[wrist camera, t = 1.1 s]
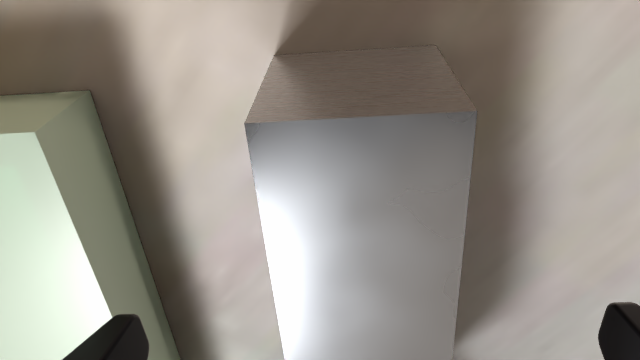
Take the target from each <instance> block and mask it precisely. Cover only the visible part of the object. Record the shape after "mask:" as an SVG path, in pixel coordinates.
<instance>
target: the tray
mask: <svg viewBox="0 0 640 360" xmlns="http://www.w3.org/2000/svg"><path fill="white" fill-rule="evenodd" d="M118 314H137V315H138V316H139V317H140V319H141V322H142V325H143V327H144V330H145V333H146V335H147V338H148V341H149V355H148V359H147V360H181V359H180V356H179V353H178V350H177V348H176V345H175V342H174V339H173V336H172V333H171V330H170V327H169V324H168V321H167V318H166V315H165V312H164V309H163V306H162V303H161V300H160V297H159V294H158V291H157V288H156V285H155V282H154V279H153V277H152V274H151V271H150V268H149V265H148V262H147V259H146V256H145V253H144V250H143V247H142V244H141V241H140V238H139V235H138V232H137V229H136V226H135V223H134V220H133V217H132V214H131V211H130V208H129V206H128V203H127V200H126V197H125V194H124V191H123V188H122V185H121V182H120V179H119V176H118V173H117V170H116V167H115V164H114V161H113V158H112V155H111V152H110V149H109V146H108V143H107V140H106V137H105V135H104V132H103V129H102V126H101V123H100V120H99V117H98V114H97V111H96V108H95V105H94V102H93V99H92V96H91V93H90V90H87V91H70V92H54V93H37V94H20V95H4V96H0V360H62V359H63V358H64V357H66V356H67V355H68V354H69V353H70V352H72V351H73V350H74V349H75V348H76V347H78V346H79V345H80V344H81V343H82V342H84V341H85V340H86V339H87V338H88V337H90V336H91V335H92V334H93V333H94V332H96V331H97V330H98V329H99V328H100V327H102V326H103V325H104V324H105V323H106V322H107V321H109V320H110V319H111V318H112V317H114V316H115V315H118Z"/></svg>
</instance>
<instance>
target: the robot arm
mask: <svg viewBox="0 0 640 360" xmlns="http://www.w3.org/2000/svg"><path fill="white" fill-rule="evenodd" d="M598 340H599V345H600V348H601V351H602V354H603V357H604V359H605V360H640V306H639V305H637V304H635V303H632V302H616V303H610V304H609V305H608V306H607V308H606V311H605V314H604V317H603V320H602V323H601V327H600V330H599V334H598ZM148 355H149V341H148V338H147V335H146V333H145V330H144V327H143V325H142V322H141V319H140V317H139V316H138V315H137V314H118V315H115V316H114V317H112V318H111V319H110V320H109V321H107V322H106V323H105V324H104V325H103V326H102V327H100V328H99V329H98V330H97V331H96V332H94V333H93V334H92V335H91V336H90V337H88V338H87V339H86V340H85V341H84V342H82V343H81V344H80V345H79V346H78V347H76V348H75V349H74V350H73V351H72V352H70V353H69V354H68V355H67V356H66V357H64V358H63V359H62V360H147V359H148Z"/></svg>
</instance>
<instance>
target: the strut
mask: <svg viewBox="0 0 640 360" xmlns="http://www.w3.org/2000/svg"><path fill="white" fill-rule="evenodd" d="M476 119H477V110H476V108H475V107H474V105H473V103H472V102H471V100H470V99H469V97H468V95H467V94H466V92H465V91H464V89H463V88H462V86H461V84H460V83H459V81H458V80H457V78H456V76H455V75H454V73H453V72H452V70H451V69H450V67H449V65H448V64H447V62H446V61H445V59H444V57H443V56H442V54H441V53H440V51H439V50H438V48H437V46H436V45H428V46H412V47H396V48H381V49H365V50H349V51H334V52H318V53H303V54H287V55H274V56H273V59H272V61H271V63H270V66H269V68H268V70H267V73H266V75H265V77H264V80H263V82H262V84H261V86H260V89H259V91H258V93H257V96H256V98H255V100H254V103H253V105H252V107H251V109H250V112H249V114H248V116H247V119H246V121H245V123H244V124H245V130H246V136H247V142H248V147H249V153H250V159H251V165H252V171H253V177H254V183H255V189H256V194H257V200H258V206H259V212H260V218H261V224H262V230H263V235H264V241H265V247H266V253H267V259H268V265H269V271H270V277H271V282H272V288H273V294H274V300H275V306H276V312H277V318H278V324H279V329H280V335H281V341H282V347H283V353H284V359H285V360H452V359H453V349H454V339H455V329H456V319H457V309H458V299H459V289H460V279H461V269H462V259H463V249H464V239H465V229H466V219H467V209H468V199H469V189H470V179H471V169H472V159H473V149H474V139H475V129H476Z"/></svg>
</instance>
